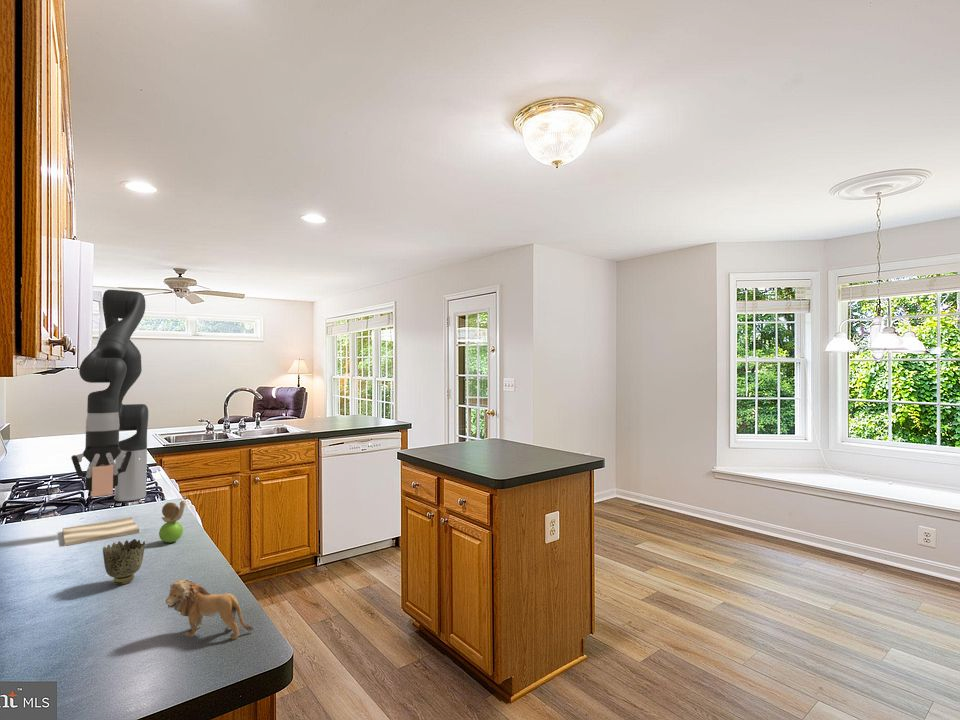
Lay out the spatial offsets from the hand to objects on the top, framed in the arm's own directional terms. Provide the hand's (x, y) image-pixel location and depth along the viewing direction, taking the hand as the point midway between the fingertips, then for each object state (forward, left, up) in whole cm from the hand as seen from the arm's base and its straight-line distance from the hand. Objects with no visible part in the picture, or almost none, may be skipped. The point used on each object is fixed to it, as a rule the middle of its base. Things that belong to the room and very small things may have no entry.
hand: (101, 489), depth 140 cm
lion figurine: (+79, +9, -12) cm, 81 cm away
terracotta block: (0, 0, -1) cm, 1 cm away
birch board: (0, 0, -12) cm, 12 cm away
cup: (+44, +1, -12) cm, 46 cm away
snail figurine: (+22, +14, -12) cm, 29 cm away
